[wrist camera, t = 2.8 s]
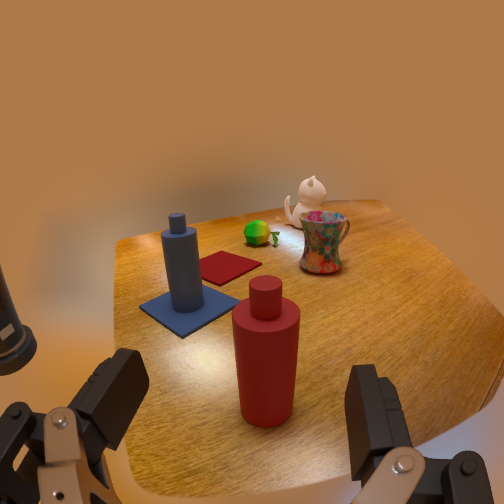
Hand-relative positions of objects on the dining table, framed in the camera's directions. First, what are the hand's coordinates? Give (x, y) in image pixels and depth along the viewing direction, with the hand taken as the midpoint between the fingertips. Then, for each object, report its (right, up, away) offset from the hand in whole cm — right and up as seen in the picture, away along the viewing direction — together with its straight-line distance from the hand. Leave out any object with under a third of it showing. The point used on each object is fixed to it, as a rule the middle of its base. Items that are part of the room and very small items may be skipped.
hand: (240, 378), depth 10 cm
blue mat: (-10, -4, +35) cm, 37 cm away
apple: (+3, +6, +62) cm, 62 cm away
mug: (+15, +2, +48) cm, 51 cm away
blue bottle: (-10, -4, +35) cm, 37 cm away
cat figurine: (+16, +12, +75) cm, 77 cm away
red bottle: (+2, -11, +16) cm, 20 cm away
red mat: (-6, +1, +49) cm, 50 cm away
